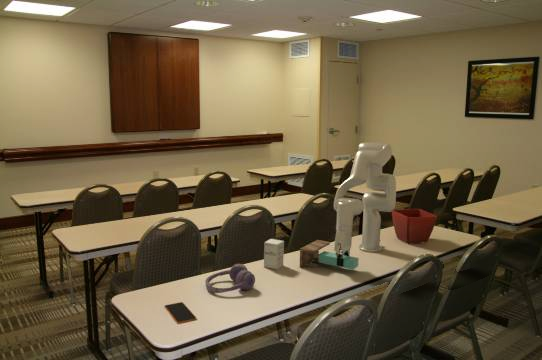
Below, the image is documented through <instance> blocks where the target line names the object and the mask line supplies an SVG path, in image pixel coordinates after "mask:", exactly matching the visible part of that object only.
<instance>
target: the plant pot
mask: <svg viewBox="0 0 542 360" xmlns="http://www.w3.org/2000/svg"><path fill="white" fill-rule="evenodd" d="M391 217H392V223H393V228H394V232H395V235H396V238H397V239H398V240H400V241H401V242H403V243H405V242H406V244H407V243H408V244H407V245H411V243H416V244H421V243H420V242H427V243H428V240H429V239H430V238H431V235H432V233H433V230H434V228H435V225H436V222H437V219H438V216H437V215H435V214H433V213H431V212H428V211H426V210H423V209H421V208H406V209H394V210H393V211H391Z"/></svg>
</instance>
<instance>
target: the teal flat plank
mask: <svg viewBox="0 0 542 360" xmlns="http://www.w3.org/2000/svg"><path fill="white" fill-rule="evenodd" d="M343 258H344V262H343V267H341V266H337V255H336V252H330V251H327V250H326V251H325V250H324V251H322V252H319V262H318V263H321V264H324V265H325V264H326V265H329V266H334V267H338V268H343V269H347V270H352V271H353V270H355V269H356V268H358V267H359V257H355V256H350V255H349V256H346V255H343Z"/></svg>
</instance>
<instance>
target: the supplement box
mask: <svg viewBox="0 0 542 360" xmlns="http://www.w3.org/2000/svg"><path fill="white" fill-rule="evenodd" d="M263 244H264V245H263V246H264V249H263V251H264V252H263V268H268V269H273V270H279V269H280V268H281V267H283V266H284V259H285V258H284V257H285V256H284V253H285V251H284V249H285V241H284V240H280V239H275V238H270V239H268V240H266V241H264V243H263Z"/></svg>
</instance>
